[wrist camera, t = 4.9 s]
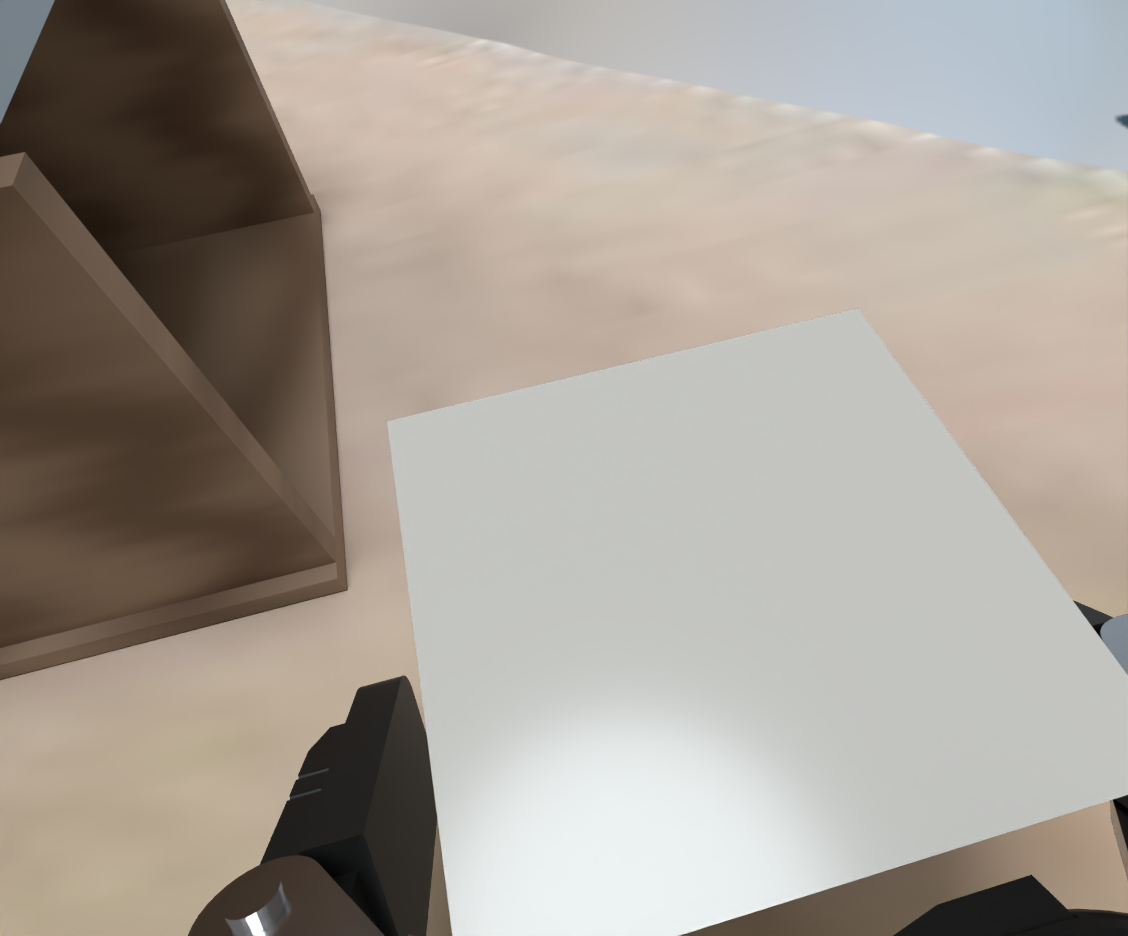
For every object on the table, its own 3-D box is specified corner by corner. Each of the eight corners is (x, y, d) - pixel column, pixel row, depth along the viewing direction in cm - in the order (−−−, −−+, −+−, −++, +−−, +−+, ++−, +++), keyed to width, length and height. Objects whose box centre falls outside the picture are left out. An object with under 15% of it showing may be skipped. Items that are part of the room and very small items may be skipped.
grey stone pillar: (573, 921, 14) (459, 1003, 4) (527, 706, 16) (386, 421, 6) (791, 854, 14) (1200, 772, 4) (714, 654, 17) (857, 308, 7)
